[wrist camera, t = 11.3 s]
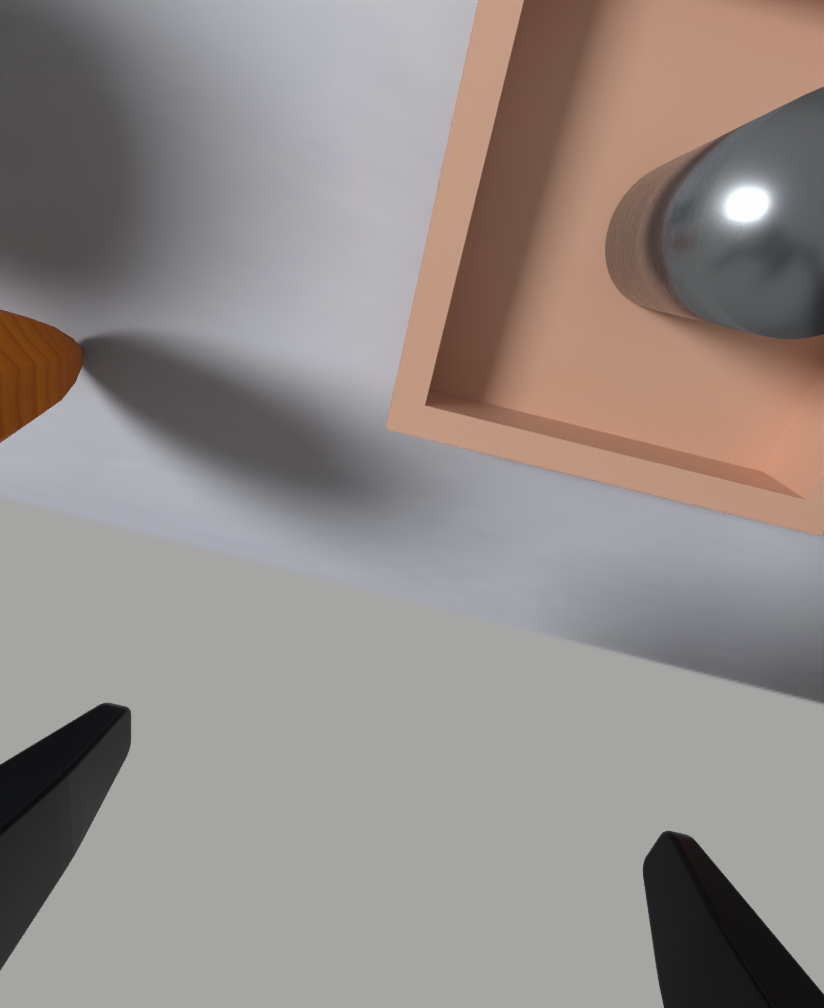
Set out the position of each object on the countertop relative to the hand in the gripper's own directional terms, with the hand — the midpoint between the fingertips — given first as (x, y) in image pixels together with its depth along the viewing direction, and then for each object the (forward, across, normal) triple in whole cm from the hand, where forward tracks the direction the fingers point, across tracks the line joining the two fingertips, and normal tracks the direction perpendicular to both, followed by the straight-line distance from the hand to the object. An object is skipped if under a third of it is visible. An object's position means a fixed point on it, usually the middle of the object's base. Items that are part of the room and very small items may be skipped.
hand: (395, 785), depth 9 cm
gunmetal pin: (+12, -5, -10) cm, 16 cm away
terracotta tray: (+13, -5, -10) cm, 17 cm away
